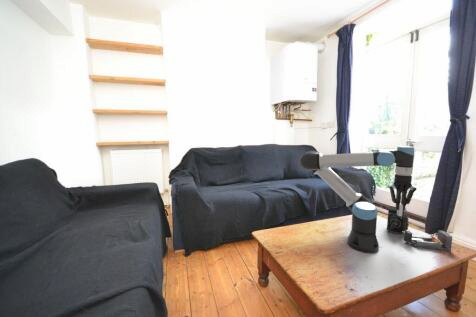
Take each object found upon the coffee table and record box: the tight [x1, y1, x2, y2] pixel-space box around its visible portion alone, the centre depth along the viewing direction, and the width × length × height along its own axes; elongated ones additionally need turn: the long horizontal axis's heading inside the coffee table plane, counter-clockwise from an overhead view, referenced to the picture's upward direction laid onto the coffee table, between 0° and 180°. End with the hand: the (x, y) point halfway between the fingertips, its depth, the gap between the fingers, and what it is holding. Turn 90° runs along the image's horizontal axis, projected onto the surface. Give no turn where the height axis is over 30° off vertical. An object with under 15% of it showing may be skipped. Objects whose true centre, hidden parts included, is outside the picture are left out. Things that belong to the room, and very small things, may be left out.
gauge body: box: [410, 229, 453, 252], centre depth 116 cm, size 16×7×8 cm, turn 75°
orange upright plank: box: [430, 234, 441, 243], centre depth 116 cm, size 2×7×4 cm, turn 164°
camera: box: [386, 205, 410, 235], centre depth 133 cm, size 10×11×15 cm
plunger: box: [403, 229, 424, 244], centre depth 118 cm, size 8×4×6 cm, turn 75°
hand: (399, 215), depth 119 cm, fingers closed
